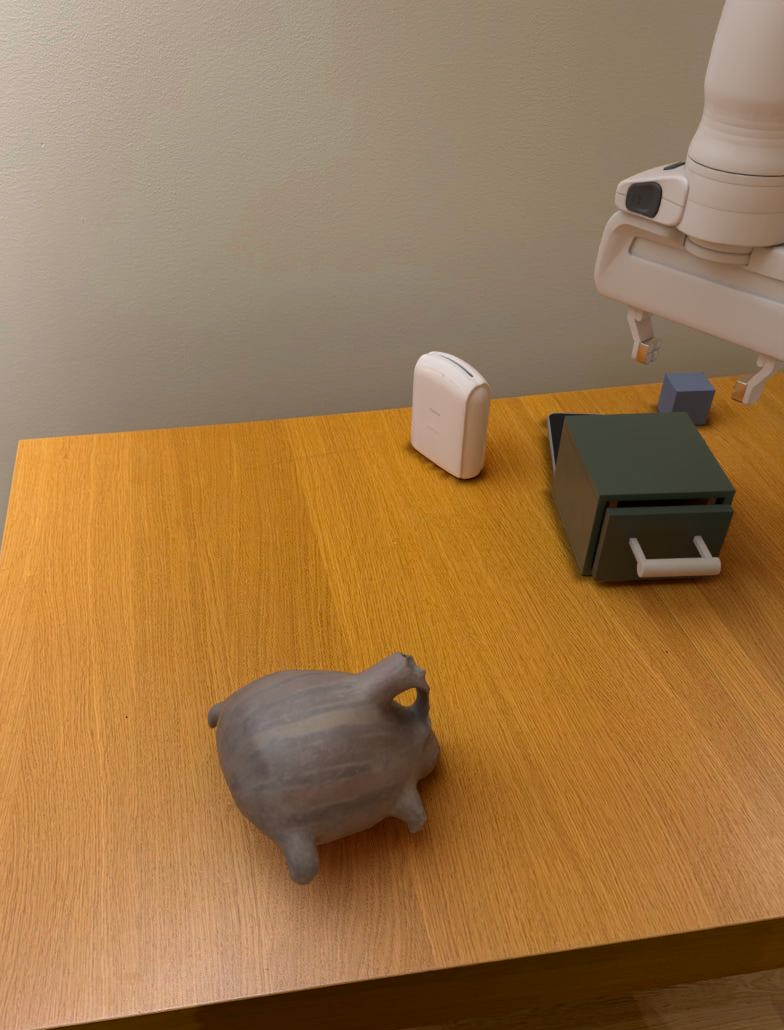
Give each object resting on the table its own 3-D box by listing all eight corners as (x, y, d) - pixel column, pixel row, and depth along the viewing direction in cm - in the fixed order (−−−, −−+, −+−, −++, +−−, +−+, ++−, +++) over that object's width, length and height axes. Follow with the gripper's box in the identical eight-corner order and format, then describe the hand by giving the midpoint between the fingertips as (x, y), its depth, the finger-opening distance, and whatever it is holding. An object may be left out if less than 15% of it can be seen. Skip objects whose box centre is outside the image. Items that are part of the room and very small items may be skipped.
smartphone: (555, 481, 102) (546, 412, 113) (554, 488, 103) (545, 418, 113) (624, 484, 101) (609, 414, 112) (622, 490, 102) (607, 420, 113)
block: (693, 405, 115) (703, 371, 112) (705, 424, 112) (716, 390, 109) (656, 407, 115) (665, 373, 112) (667, 426, 112) (676, 391, 109)
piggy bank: (408, 678, 80) (462, 631, 67) (441, 867, 76) (505, 856, 62) (202, 699, 76) (215, 653, 63) (224, 897, 72) (244, 893, 59)
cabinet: (708, 571, 91) (736, 490, 85) (581, 575, 91) (599, 495, 85) (664, 489, 102) (686, 411, 95) (550, 493, 102) (564, 415, 96)
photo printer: (404, 445, 110) (409, 348, 102) (433, 434, 112) (440, 338, 103) (459, 484, 104) (468, 384, 95) (488, 473, 105) (500, 373, 97)
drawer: (729, 611, 86) (755, 544, 80) (607, 615, 86) (624, 548, 80) (669, 498, 99) (687, 434, 94) (563, 501, 99) (575, 438, 94)
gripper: (910, 227, 61) (834, 414, 71) (649, 161, 73) (614, 329, 82) (862, 251, 58) (790, 443, 68) (599, 179, 70) (569, 350, 80)
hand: (692, 379), depth 75 cm, fingers open, 8 cm apart
